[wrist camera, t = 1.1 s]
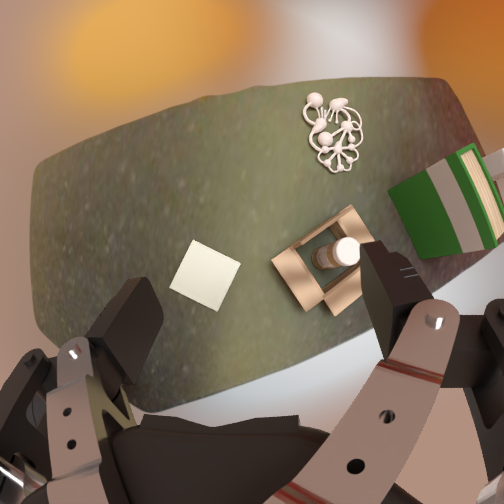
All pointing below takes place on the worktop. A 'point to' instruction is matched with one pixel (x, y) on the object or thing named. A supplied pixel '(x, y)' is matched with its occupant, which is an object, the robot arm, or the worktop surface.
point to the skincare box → (495, 164)
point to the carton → (341, 287)
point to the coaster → (205, 275)
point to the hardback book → (451, 206)
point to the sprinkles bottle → (337, 254)
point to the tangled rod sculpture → (327, 138)
